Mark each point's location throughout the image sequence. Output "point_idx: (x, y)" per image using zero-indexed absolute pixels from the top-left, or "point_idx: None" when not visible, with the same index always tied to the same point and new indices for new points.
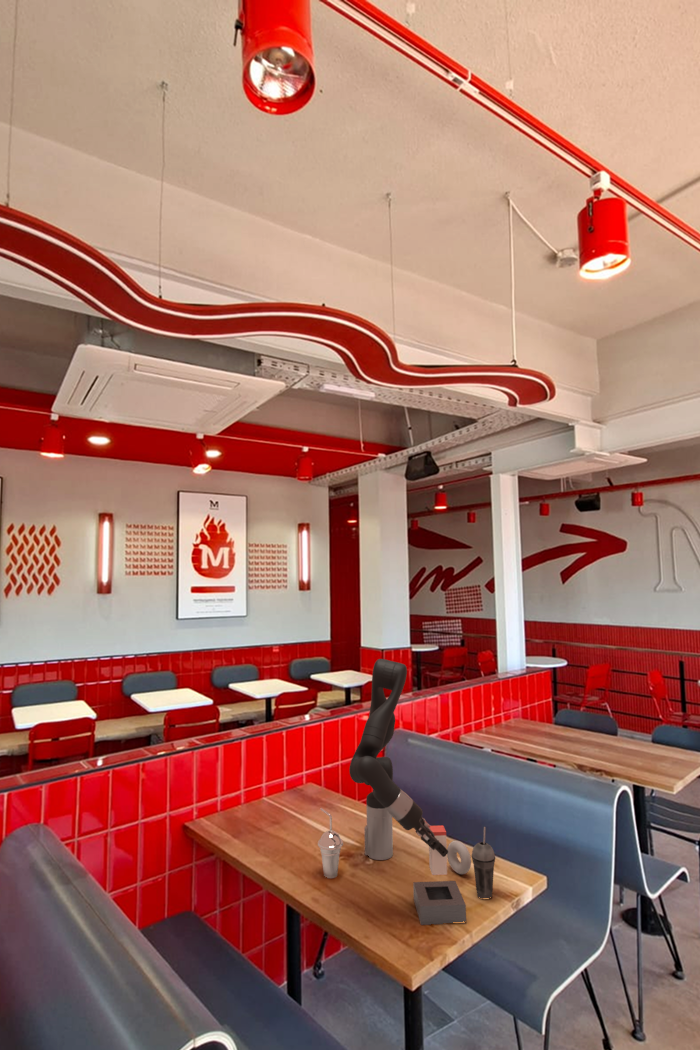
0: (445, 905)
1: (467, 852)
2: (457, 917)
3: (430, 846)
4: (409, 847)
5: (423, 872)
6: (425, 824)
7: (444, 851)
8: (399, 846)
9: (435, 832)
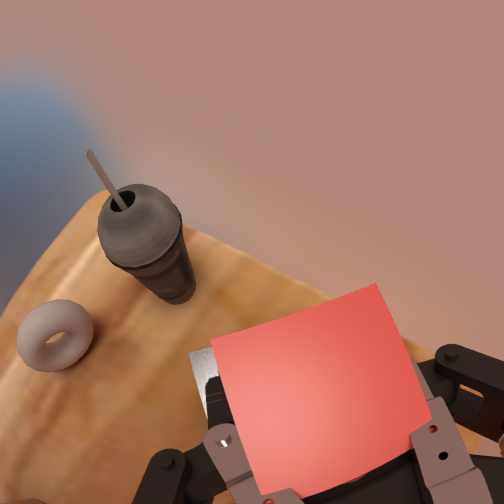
0: None
1: (61, 303)
2: None
3: (477, 401)
4: (5, 453)
5: (90, 444)
6: (487, 499)
7: None
8: (7, 474)
9: (420, 393)
